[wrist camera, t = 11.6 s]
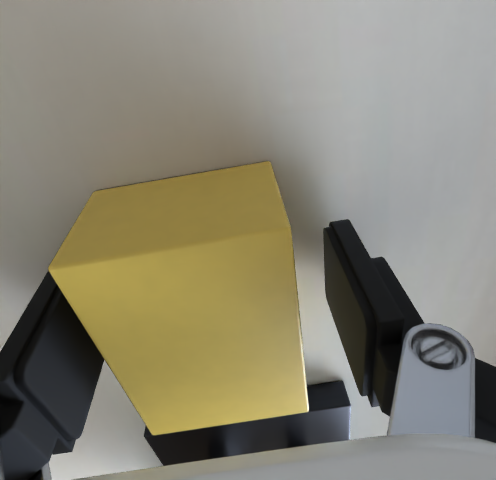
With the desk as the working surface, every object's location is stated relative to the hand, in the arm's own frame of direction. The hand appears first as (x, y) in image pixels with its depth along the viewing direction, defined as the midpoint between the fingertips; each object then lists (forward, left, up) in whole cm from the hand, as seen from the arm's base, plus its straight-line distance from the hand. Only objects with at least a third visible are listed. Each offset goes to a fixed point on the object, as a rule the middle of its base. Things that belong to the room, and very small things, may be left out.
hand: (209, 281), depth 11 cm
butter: (0, 0, -1) cm, 1 cm away
